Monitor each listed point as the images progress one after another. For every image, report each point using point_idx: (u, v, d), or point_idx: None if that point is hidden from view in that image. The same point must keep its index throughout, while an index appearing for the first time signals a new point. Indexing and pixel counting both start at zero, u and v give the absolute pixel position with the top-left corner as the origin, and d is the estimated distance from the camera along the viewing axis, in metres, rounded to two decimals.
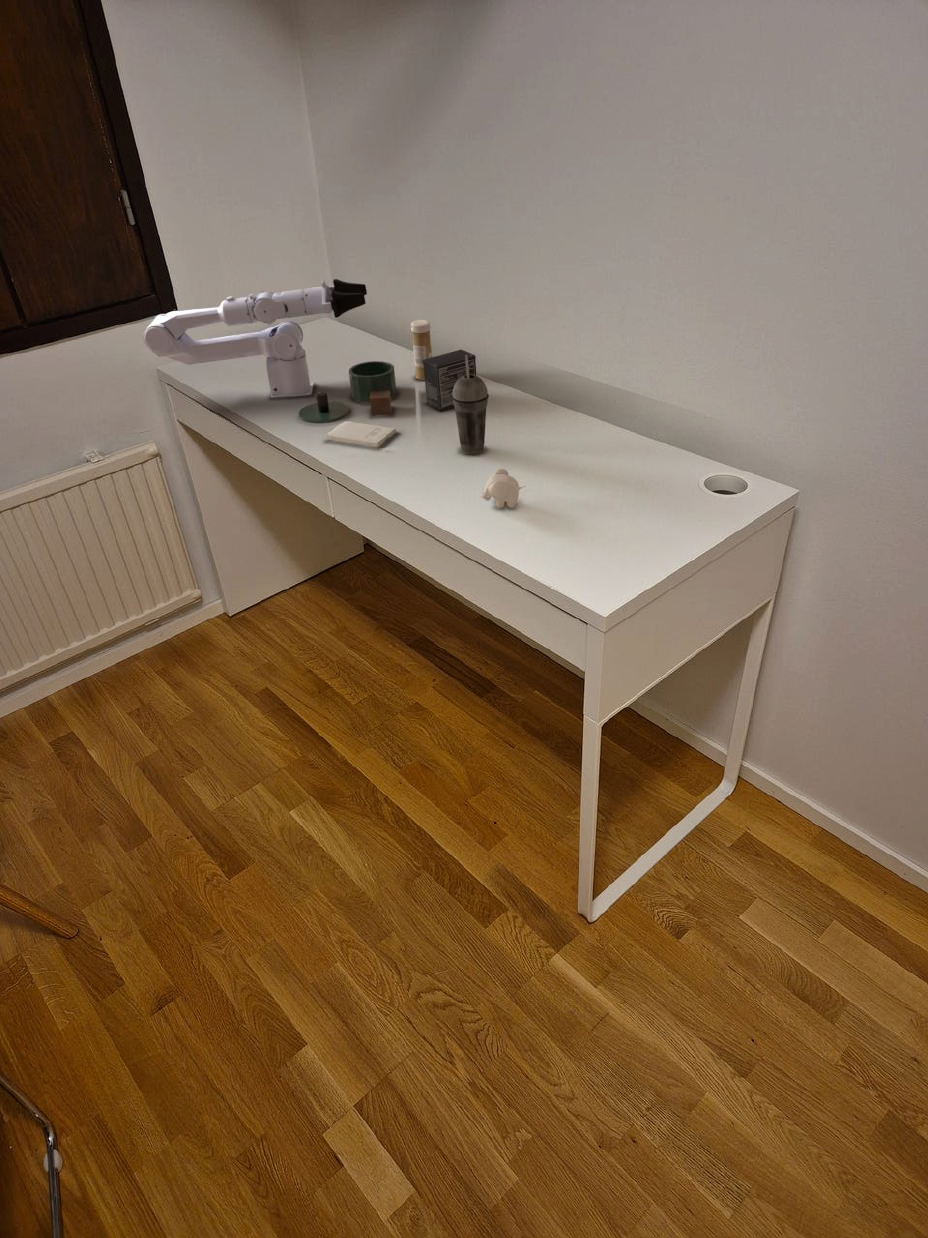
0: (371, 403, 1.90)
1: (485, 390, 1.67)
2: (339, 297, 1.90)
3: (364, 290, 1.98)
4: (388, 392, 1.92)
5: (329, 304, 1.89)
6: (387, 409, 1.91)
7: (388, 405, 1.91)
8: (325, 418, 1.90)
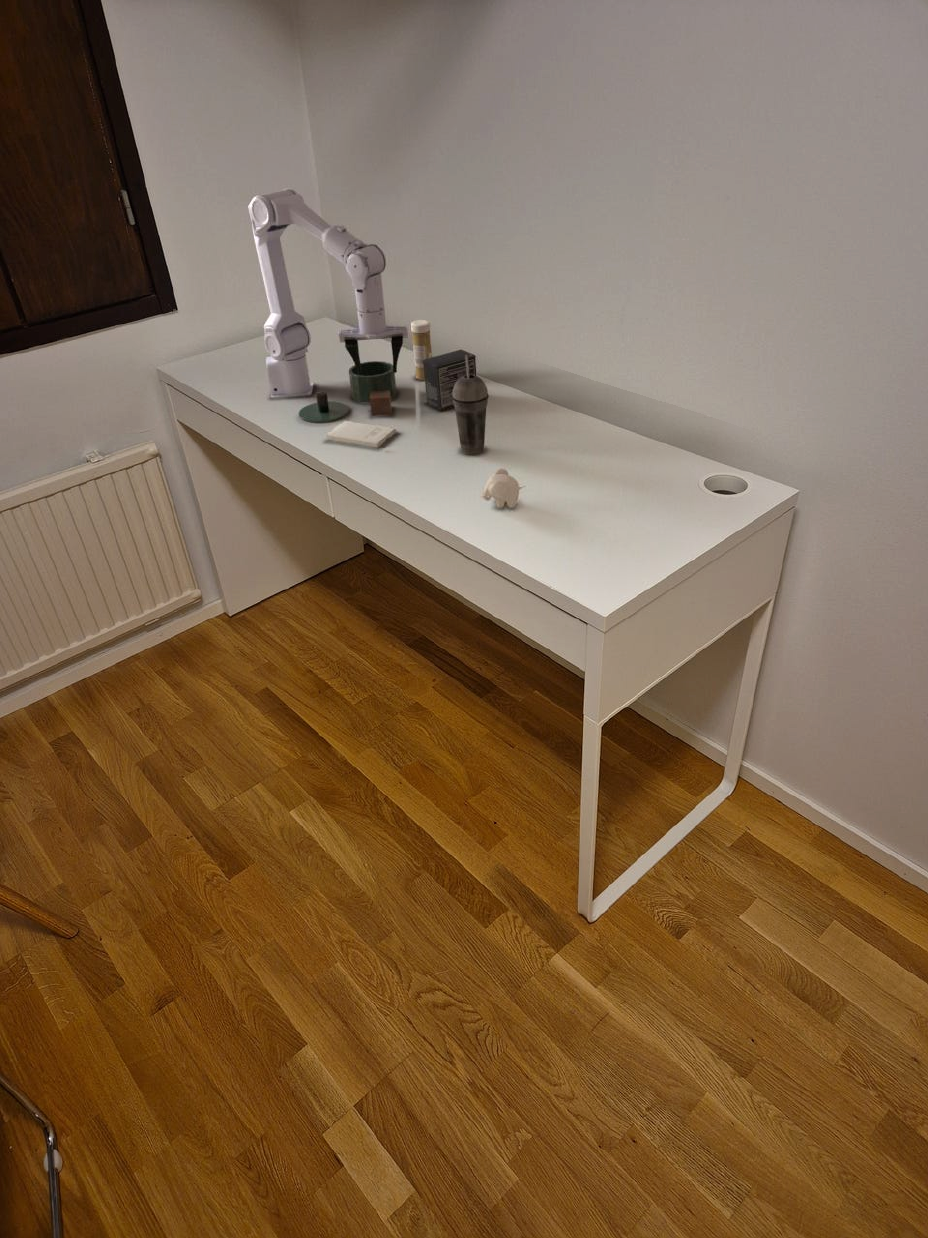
0: (371, 403, 1.90)
1: (485, 390, 1.67)
2: None
3: None
4: (388, 392, 1.92)
5: None
6: (387, 409, 1.91)
7: (388, 405, 1.91)
8: (325, 418, 1.90)
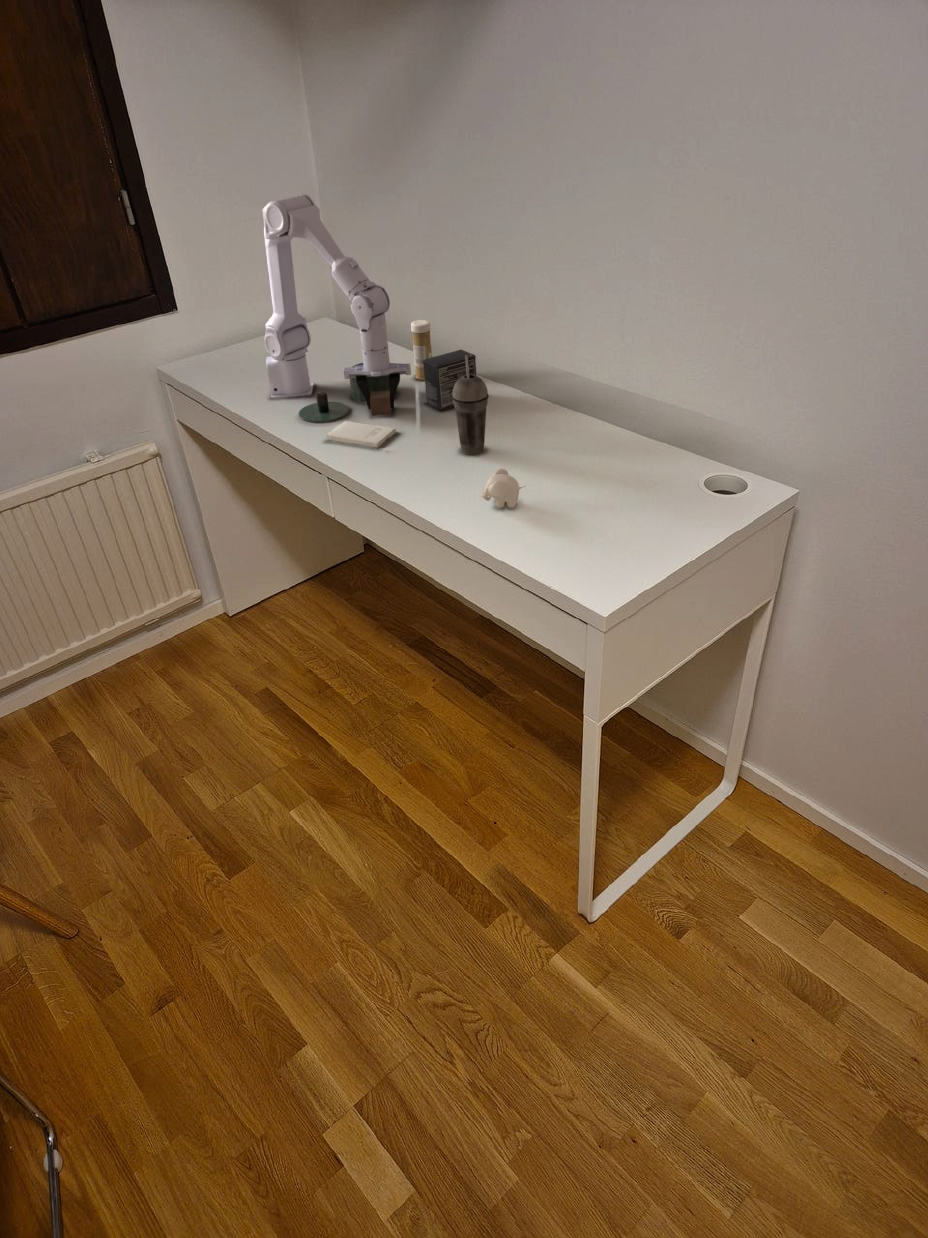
0: (371, 403, 1.90)
1: (485, 390, 1.67)
2: None
3: None
4: (388, 392, 1.92)
5: (344, 377, 1.88)
6: (387, 409, 1.91)
7: (388, 405, 1.91)
8: (325, 418, 1.90)
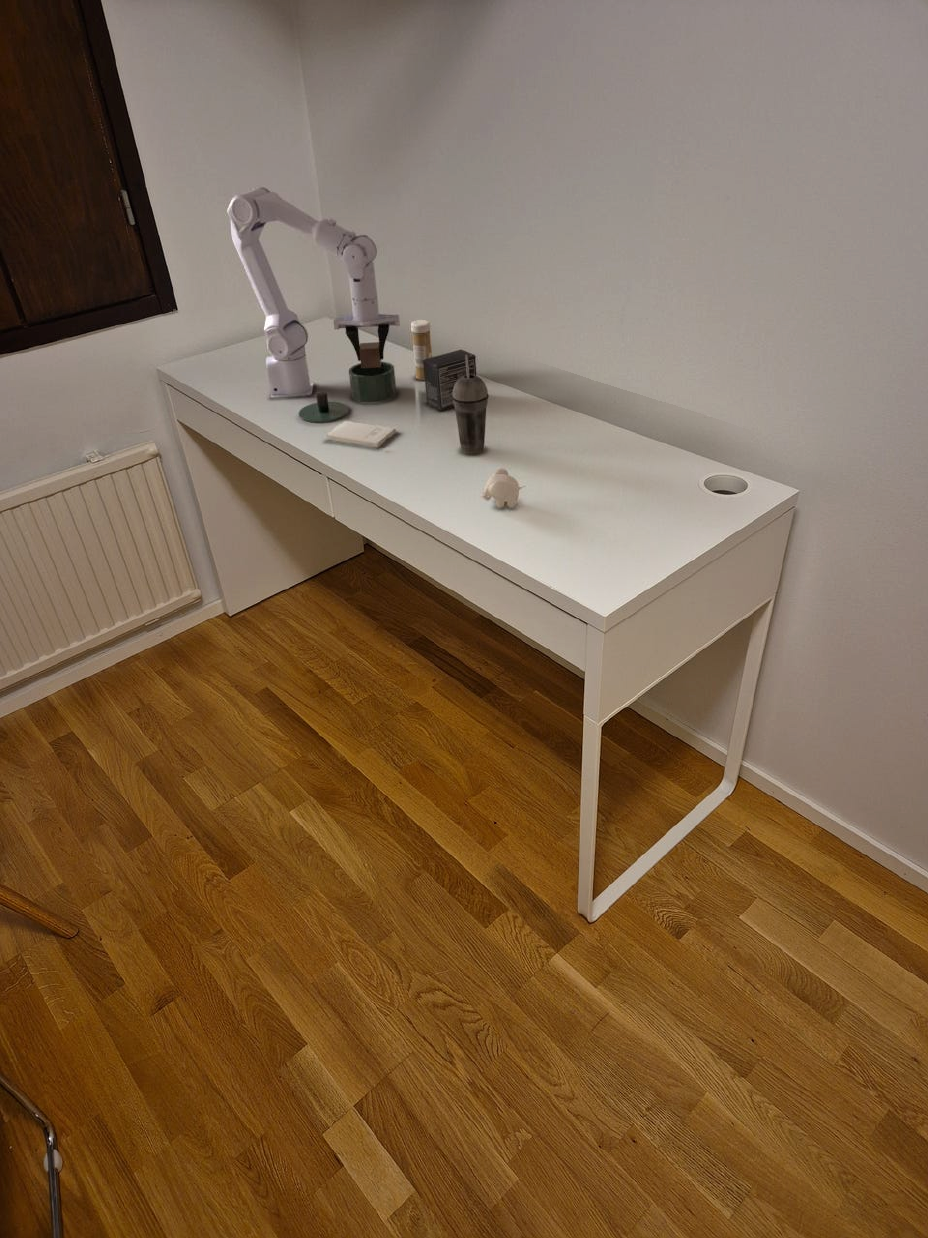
0: (361, 354, 1.93)
1: (485, 390, 1.67)
2: None
3: None
4: (377, 343, 1.95)
5: (334, 328, 1.91)
6: (376, 360, 1.94)
7: (377, 356, 1.94)
8: (325, 418, 1.90)
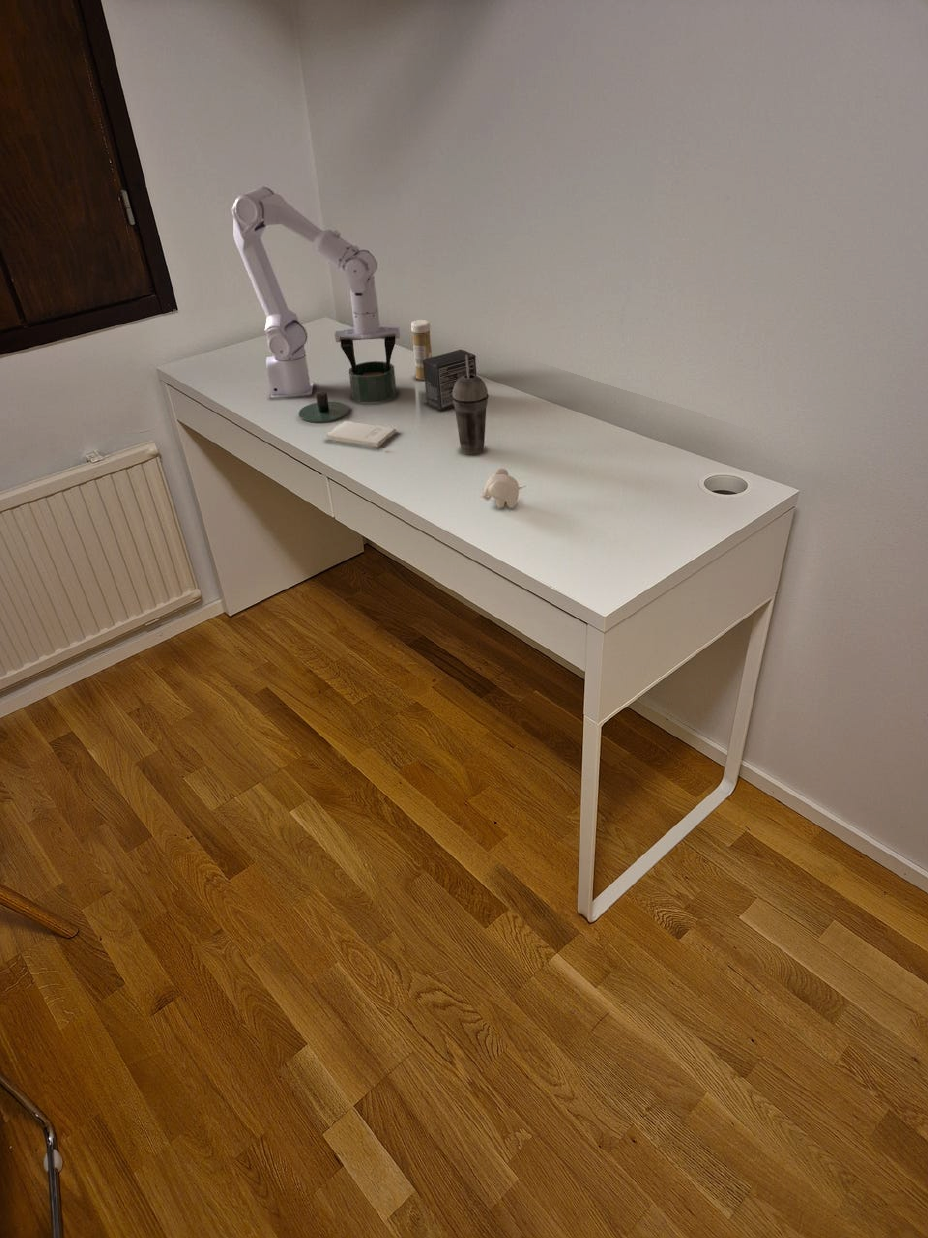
0: None
1: (485, 390, 1.67)
2: None
3: None
4: (380, 373, 2.01)
5: None
6: None
7: None
8: (325, 418, 1.90)
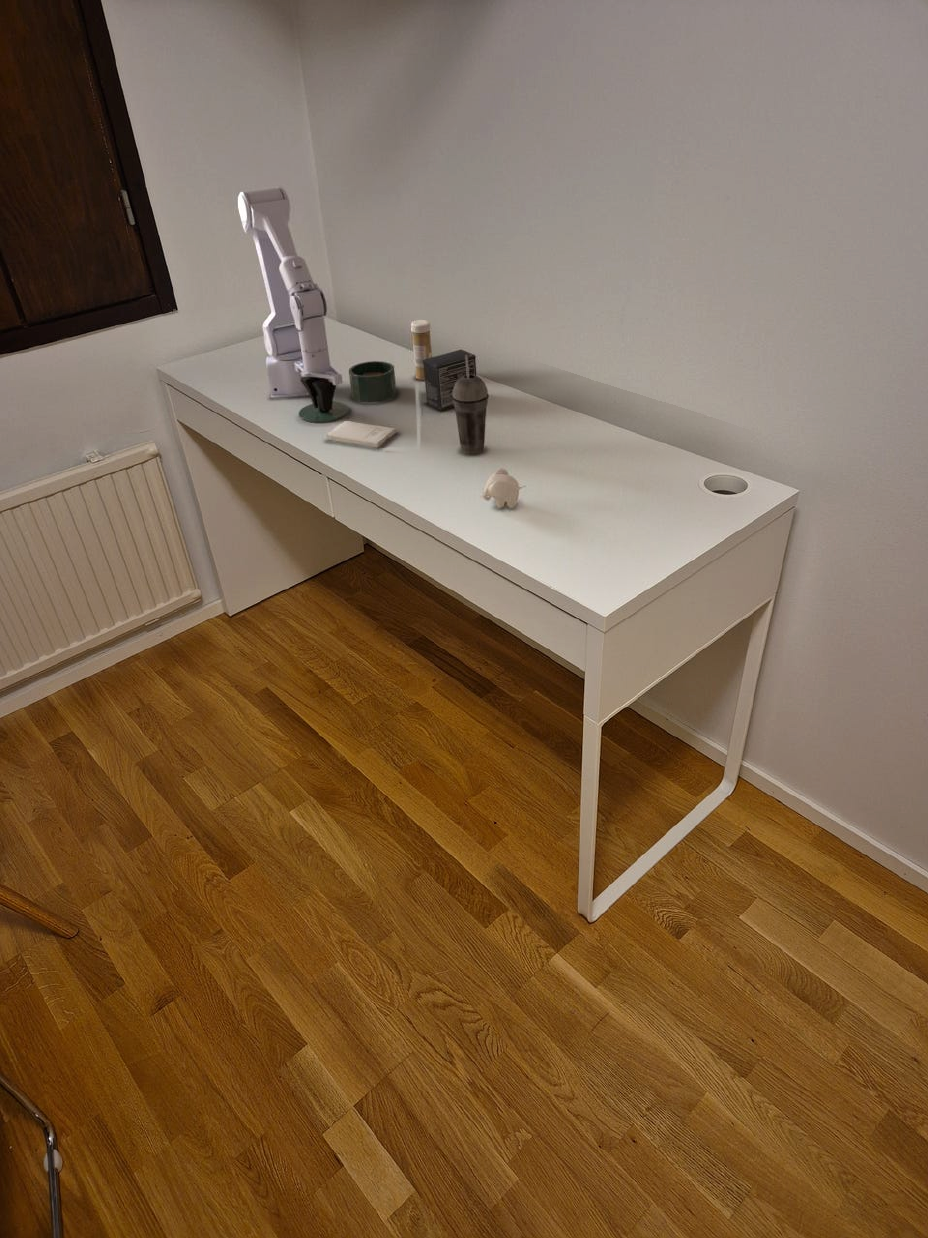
0: None
1: (485, 390, 1.67)
2: None
3: None
4: (380, 373, 2.01)
5: None
6: None
7: None
8: (325, 418, 1.90)
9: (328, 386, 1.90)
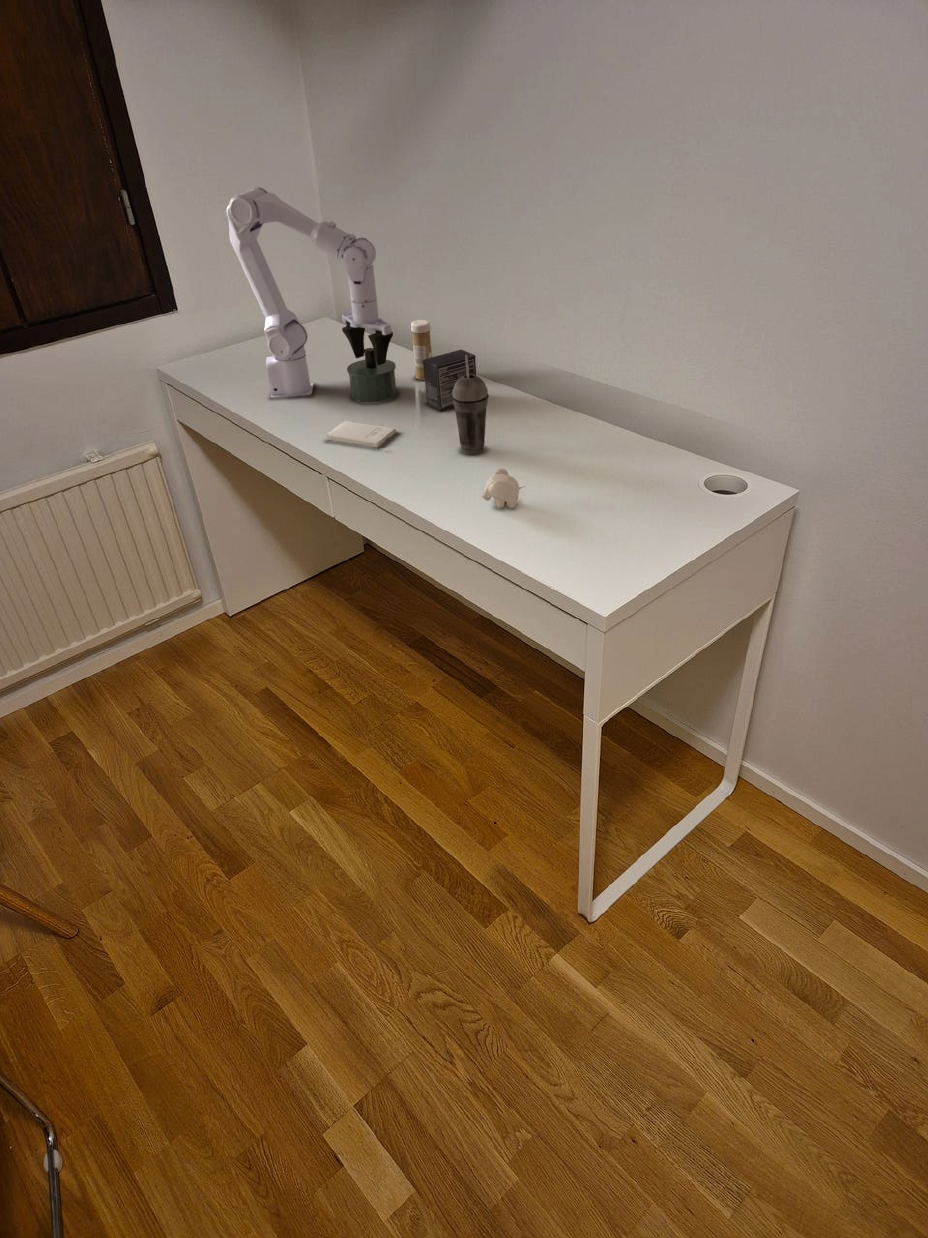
0: None
1: (485, 390, 1.67)
2: None
3: None
4: None
5: None
6: None
7: None
8: (374, 373, 1.95)
9: (383, 339, 1.93)
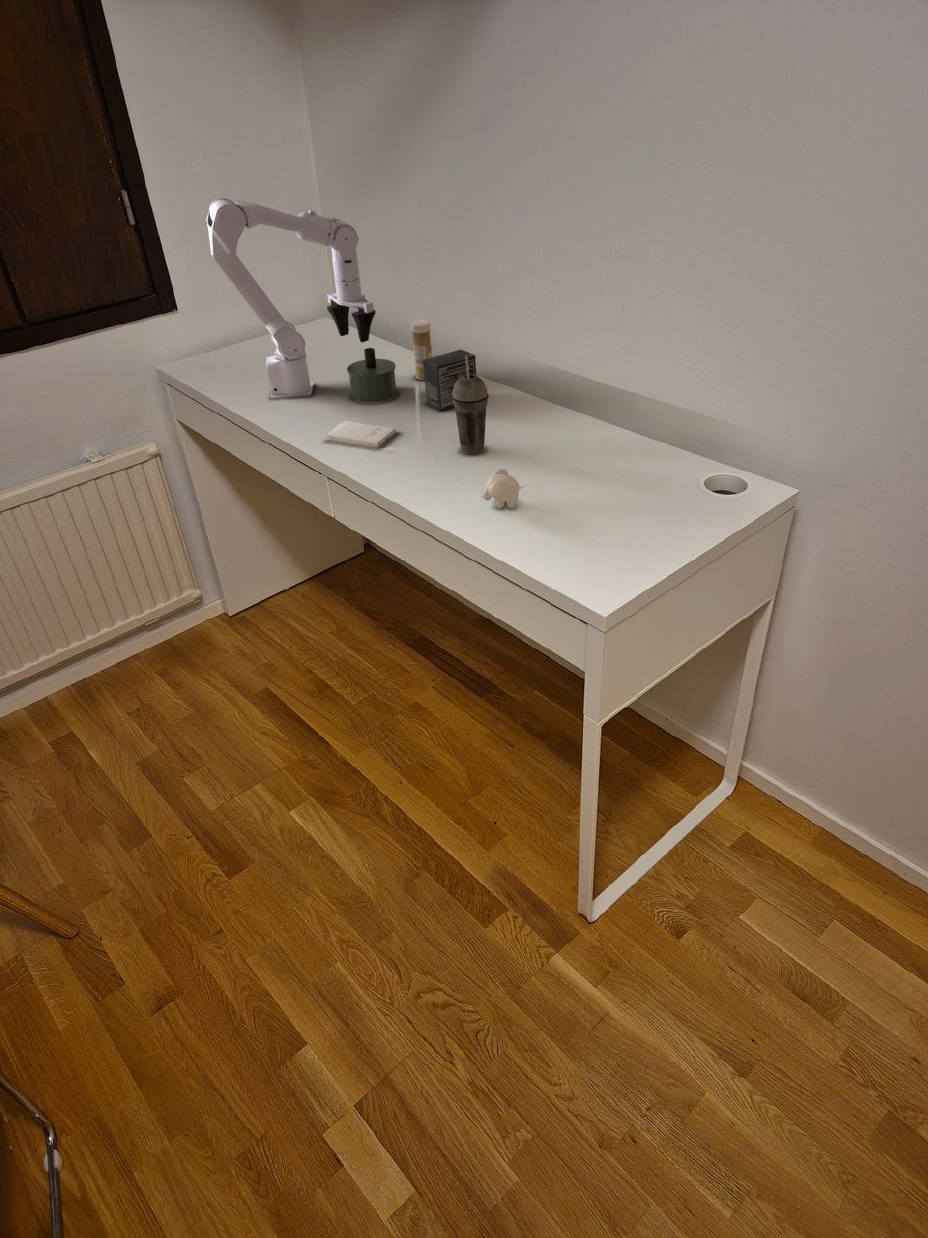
0: None
1: (485, 390, 1.67)
2: (371, 318, 2.00)
3: (344, 333, 2.07)
4: None
5: (372, 310, 1.97)
6: None
7: None
8: (374, 373, 1.95)
9: None
